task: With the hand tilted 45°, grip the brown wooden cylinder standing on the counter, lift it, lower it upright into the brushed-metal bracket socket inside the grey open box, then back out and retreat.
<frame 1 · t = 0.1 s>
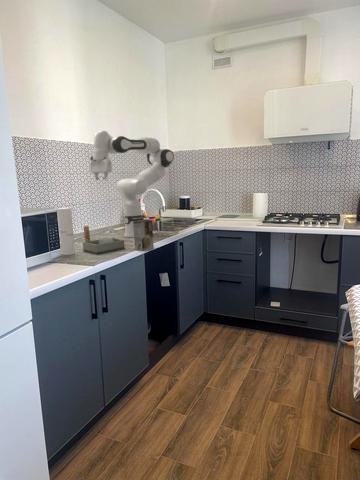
hand: (100, 179, 226), 39 cm above the countertop, tool pointing down, fingers open, 8 cm apart
brown wooden cylinder: (88, 248, 210), on the countertop
cylindrical container: (68, 254, 197), on the countertop
coffee box: (144, 249, 202), on the countertop
grey open box: (104, 249, 204), on the countertop
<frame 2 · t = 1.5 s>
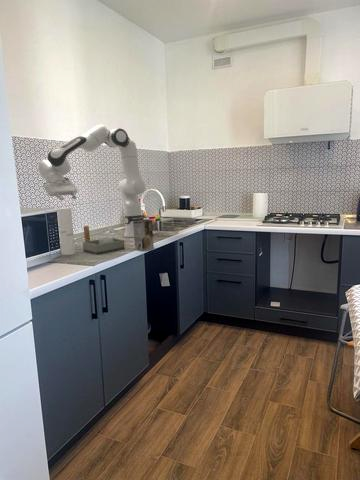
hand: (68, 199, 211), 29 cm above the countertop, tool tilted 45°, fingers open, 8 cm apart
nothing on the countertop moved.
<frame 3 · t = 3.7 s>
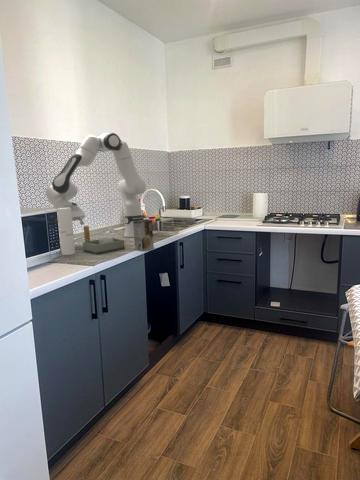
hand: (76, 225, 212), 13 cm above the countertop, tool tilted 45°, fingers open, 8 cm apart
nothing on the countertop moved.
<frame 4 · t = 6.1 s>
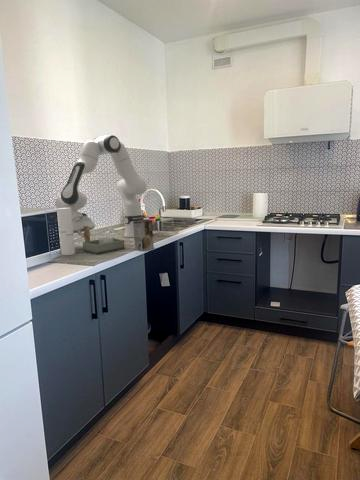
hand: (87, 236, 209), 7 cm above the countertop, tool tilted 45°, fingers closed on brown wooden cylinder, 3 cm apart
brown wooden cylinder: (88, 248, 210), on the countertop, touching gripper
everything else where it was.
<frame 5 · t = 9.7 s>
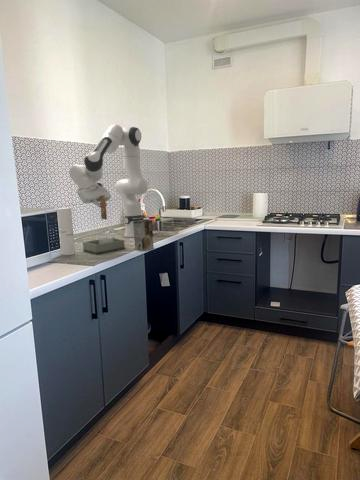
hand: (103, 206, 198), 25 cm above the countertop, tool tilted 45°, fingers closed on brown wooden cylinder, 3 cm apart
brown wooden cylinder: (104, 219, 199), point 18 cm above the countertop, touching gripper
everything else where it was.
when the fingers open (10 cm above the countertop, at t = 13.4 s): brown wooden cylinder drops 1 cm, resting on grey open box.
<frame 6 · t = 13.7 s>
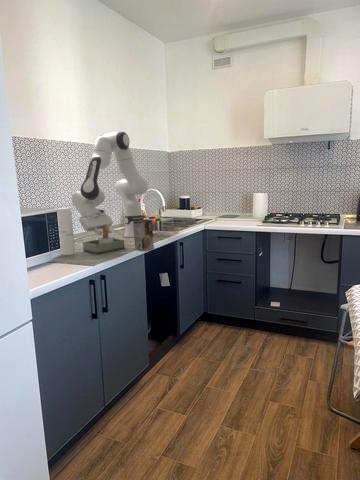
hand: (105, 233, 201), 10 cm above the countertop, tool tilted 45°, fingers open, 6 cm apart
brown wooden cylinder: (106, 248, 202), point 1 cm above the countertop, touching grey open box
everything else where it was.
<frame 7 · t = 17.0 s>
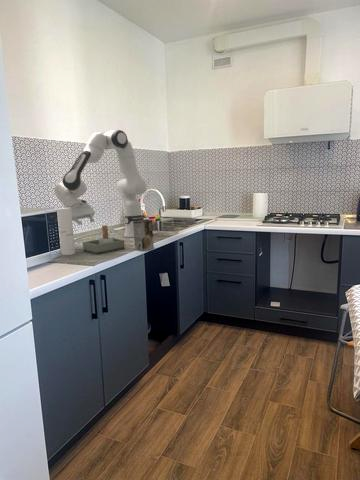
hand: (87, 222, 208), 15 cm above the countertop, tool tilted 45°, fingers open, 8 cm apart
nothing on the countertop moved.
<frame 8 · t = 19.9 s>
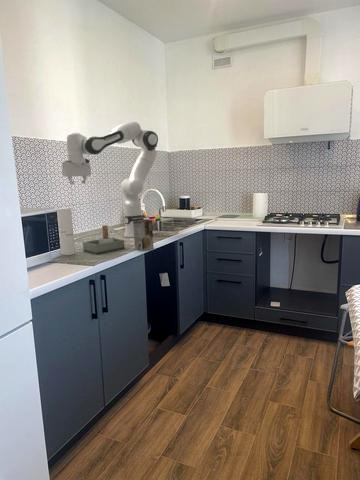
hand: (78, 183, 217), 37 cm above the countertop, tool pointing down, fingers open, 8 cm apart
nothing on the countertop moved.
at the end: brown wooden cylinder 0.1 cm from the target spot on the grey open box, point 1.0 cm above the grey open box's base; brown wooden cylinder tilted 0°; the gripper is holding nothing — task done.
